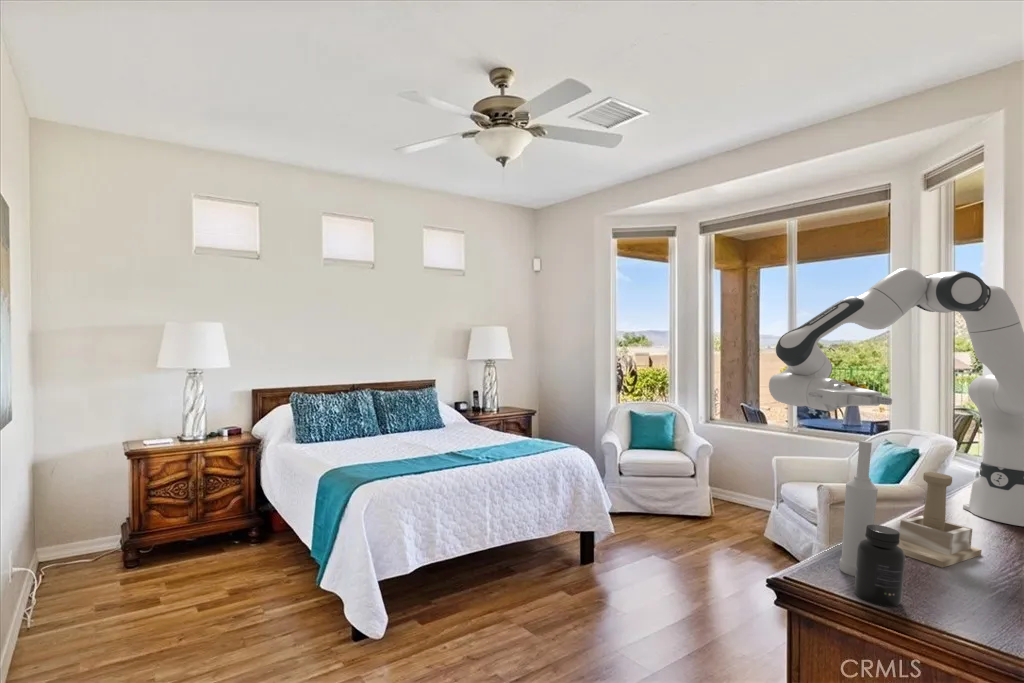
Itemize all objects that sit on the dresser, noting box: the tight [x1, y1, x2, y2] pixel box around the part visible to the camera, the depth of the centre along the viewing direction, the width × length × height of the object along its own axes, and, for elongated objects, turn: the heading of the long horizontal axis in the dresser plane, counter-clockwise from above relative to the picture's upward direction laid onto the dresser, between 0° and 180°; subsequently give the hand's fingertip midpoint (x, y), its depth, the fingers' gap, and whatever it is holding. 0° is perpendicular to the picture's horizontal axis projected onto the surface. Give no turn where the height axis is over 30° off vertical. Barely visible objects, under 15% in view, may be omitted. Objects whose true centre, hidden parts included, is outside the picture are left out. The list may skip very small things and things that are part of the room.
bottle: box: [838, 440, 879, 577], centre depth 109 cm, size 5×5×25 cm
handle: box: [923, 471, 953, 531], centre depth 126 cm, size 5×6×15 cm
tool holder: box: [897, 514, 983, 569], centre depth 124 cm, size 18×12×6 cm, turn 121°
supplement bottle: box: [854, 524, 906, 608], centre depth 98 cm, size 7×7×12 cm
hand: (881, 401), depth 144 cm, fingers open, 8 cm apart
